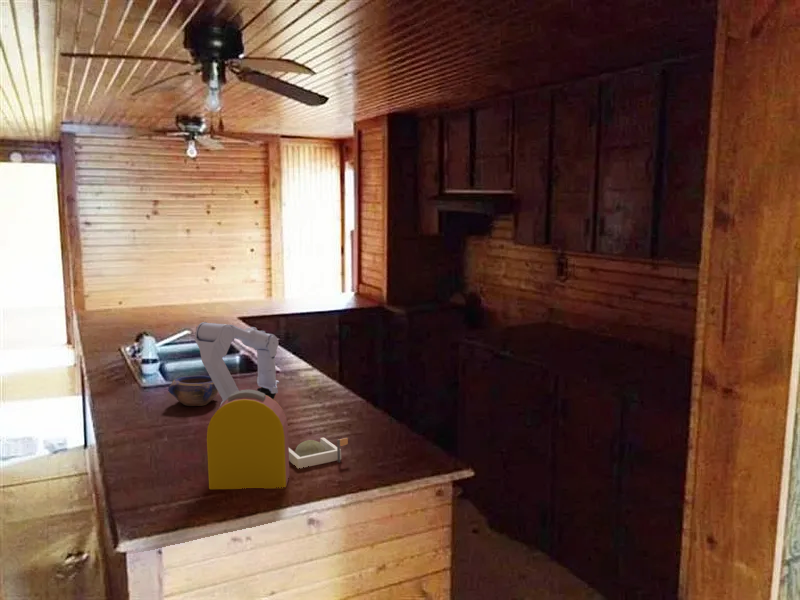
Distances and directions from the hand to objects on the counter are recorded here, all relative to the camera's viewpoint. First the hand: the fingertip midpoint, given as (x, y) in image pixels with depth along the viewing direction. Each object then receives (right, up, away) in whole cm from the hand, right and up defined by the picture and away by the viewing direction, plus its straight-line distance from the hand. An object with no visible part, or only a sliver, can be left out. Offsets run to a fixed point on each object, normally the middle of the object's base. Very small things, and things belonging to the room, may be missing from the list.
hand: (267, 409), depth 223 cm
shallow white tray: (+18, -12, -17) cm, 27 cm away
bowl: (-35, -4, +38) cm, 52 cm away
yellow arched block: (+2, -15, -34) cm, 37 cm away
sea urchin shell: (+16, -12, -16) cm, 26 cm away
